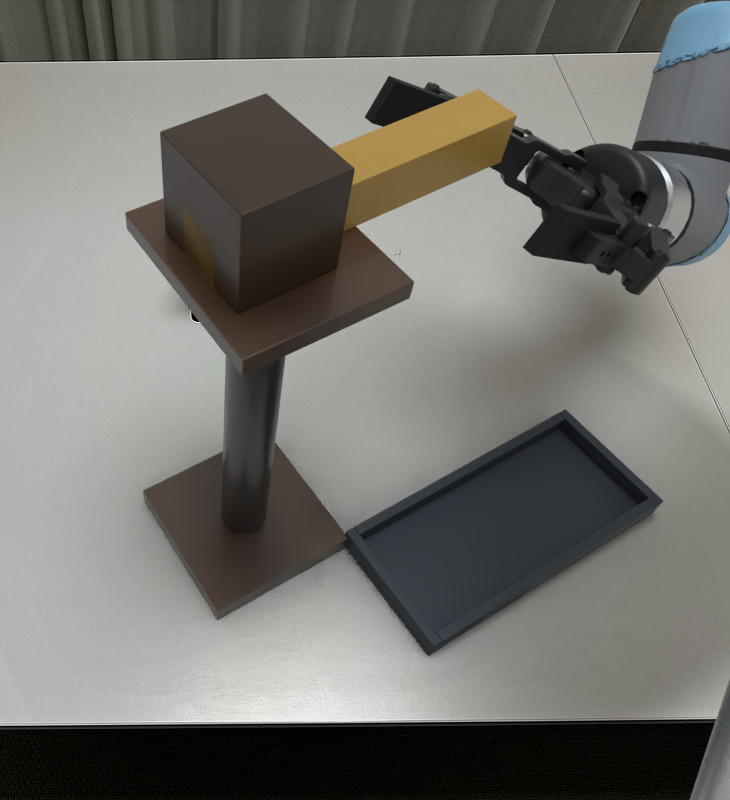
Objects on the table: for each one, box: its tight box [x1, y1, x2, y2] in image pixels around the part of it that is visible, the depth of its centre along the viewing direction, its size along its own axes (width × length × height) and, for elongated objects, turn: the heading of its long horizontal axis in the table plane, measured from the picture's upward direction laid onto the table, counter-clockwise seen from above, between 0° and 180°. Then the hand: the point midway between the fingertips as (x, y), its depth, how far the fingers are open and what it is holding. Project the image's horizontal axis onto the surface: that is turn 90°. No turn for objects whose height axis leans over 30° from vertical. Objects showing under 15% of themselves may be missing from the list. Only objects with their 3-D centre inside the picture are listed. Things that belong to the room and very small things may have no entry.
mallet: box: [159, 88, 518, 313], centre depth 40 cm, size 19×7×6 cm, turn 121°
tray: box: [344, 409, 664, 657], centre depth 63 cm, size 24×11×2 cm, turn 120°
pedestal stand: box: [124, 197, 415, 620], centre depth 53 cm, size 12×12×30 cm
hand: (455, 159), depth 44 cm, fingers open, 13 cm apart
